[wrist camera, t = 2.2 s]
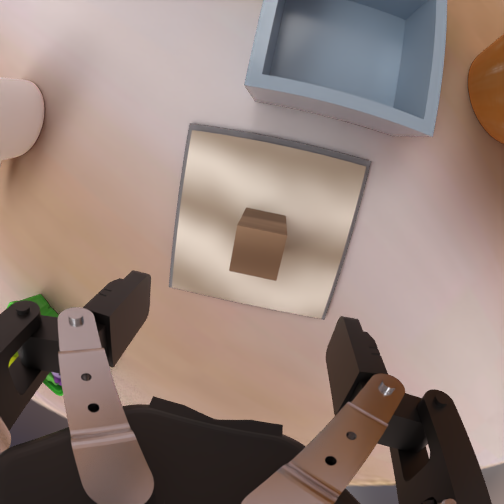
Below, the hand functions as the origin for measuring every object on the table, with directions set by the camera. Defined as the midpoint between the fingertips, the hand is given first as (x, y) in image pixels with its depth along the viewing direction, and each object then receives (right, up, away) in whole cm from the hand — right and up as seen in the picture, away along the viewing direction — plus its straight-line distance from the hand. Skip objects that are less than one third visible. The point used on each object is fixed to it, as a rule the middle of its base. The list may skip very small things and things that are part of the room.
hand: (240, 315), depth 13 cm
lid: (+1, +4, +12) cm, 13 cm away
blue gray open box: (+7, +18, +7) cm, 20 cm away
